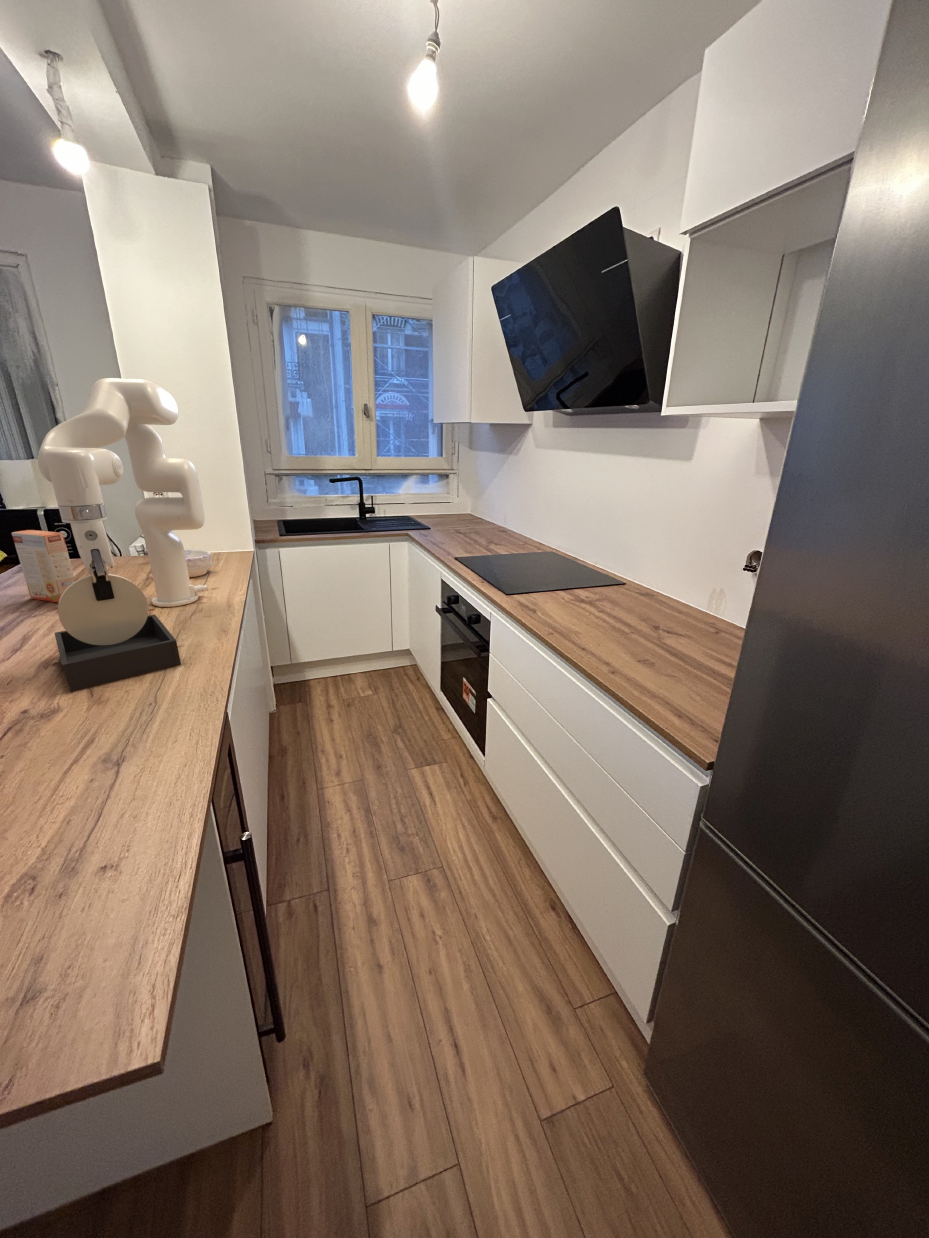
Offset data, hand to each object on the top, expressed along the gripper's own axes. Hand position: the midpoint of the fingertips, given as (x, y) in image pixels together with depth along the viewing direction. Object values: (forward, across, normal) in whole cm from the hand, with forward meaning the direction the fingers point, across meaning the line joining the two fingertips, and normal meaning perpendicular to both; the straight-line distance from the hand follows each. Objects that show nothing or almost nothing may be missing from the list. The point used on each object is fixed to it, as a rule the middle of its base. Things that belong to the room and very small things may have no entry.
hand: (104, 598), depth 106 cm
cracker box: (+15, +65, +8) cm, 67 cm away
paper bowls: (+15, +71, -32) cm, 79 cm away
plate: (+11, 0, 0) cm, 11 cm away
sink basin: (+15, 0, 0) cm, 15 cm away
